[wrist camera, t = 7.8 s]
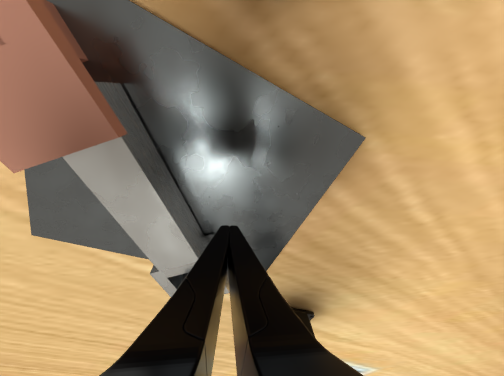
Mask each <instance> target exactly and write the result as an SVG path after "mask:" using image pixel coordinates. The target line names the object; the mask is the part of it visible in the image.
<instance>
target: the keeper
mask: <svg viewBox="0 0 504 376" xmlns="http://www.w3.org/2000/svg"><path fill="white" fill-rule="evenodd" d="M86 61H88V59H87V57H86V55H85V54H84V52H83V51H82V49H81V47H80V46H79V44H78V43H77V41H76V39H75V38H74V36H73V35H72V33H71V31H70V30H69V28H68V27H67V25H66V23H65V22H64V20H63V19H62V17H61V15H60V14H59V12H58V11H57V9H56V7H55V6H54V4H53V3H51V2H48V1H46V0H0V161H1V162H2V163H3V164H4V165H5V166H7V167H8V168H9V169H10V170H11V171H12V172H13V173H16V172H19V171H21V170H24V169H27V168H30V167H33V166H36V165H39V164H42V163H45V162H48V161H51V160H54V159H57V158H60V157H63V156H66V155H69V154H72V153H75V152H77V151H80V150H83V149H86V148H89V147H92V146H95V145H98V144H101V143H104V142H107V141H110V140H113V139H116V138H119V137H121V136H123V135H126V134H128V133H127V132H126V130H125V129H124V127H123V126H122V124H121V122H120V121H119V119H118V118H117V116H116V115H115V113H114V112H113V110H112V109H111V107H110V105H109V104H108V102H107V101H106V99H105V98H104V96H103V95H102V93H101V91H100V90H99V88H98V87H97V85H96V84H95V82H94V81H93V79H92V77H91V76H90V74H89V73H88V71H87V70H86V68H85V67H84V65H83V62H86Z"/></svg>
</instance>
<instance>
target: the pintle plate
mask: <svg viewBox="0 0 504 376" xmlns="http://www.w3.org/2000/svg"><path fill="white" fill-rule="evenodd" d="M46 1H48V2H51V3H53V4H54V6H55V7H56V9H57V11H58V12H59V14H60V15H61V17H62V19H63V20H64V22H65V23H66V25H67V27H68V28H69V30H70V31H71V33H72V35H73V36H74V38H75V39H76V41H77V43H78V44H79V46H80V47H81V49H82V51H83V52H84V54H85V55H86V57H87V59H88V61H86V62H83V65H84V67H85V68H86V70H87V71H88V73H89V74H90V76H91V77H92V79H93V81H94V82H109V83H120V84H121V86H122V87H123V89H124V91H125V93H126V95H127V97H128V98H129V100H130V102H131V104H132V106H133V107H134V109H135V111H136V113H137V115H138V117H139V118H140V120H141V122H142V124H143V126H144V127H145V129H146V131H147V133H148V135H149V136H150V138H151V140H152V142H153V144H154V146H155V147H156V149H157V151H158V153H159V155H160V156H161V158H162V160H163V162H164V164H165V165H166V167H167V169H168V171H169V173H170V175H171V176H172V178H173V180H174V182H175V184H176V185H177V187H178V189H179V191H180V193H181V195H182V196H183V198H184V200H185V202H186V204H187V205H188V207H189V209H190V211H191V213H192V214H193V216H194V218H195V220H196V222H197V224H198V225H199V227H200V229H201V231H202V233H203V234H204V236H207V235H211V234H213V235H215V233H216V232H217V230H218V229H219V227H220V226H221V225H229V226H230V225H237V226H238V227H239V229H240V230H241V232H242V233H243V235H244V237H245V238H246V240H247V242H248V243H249V245H250V246H251V248H252V250H253V251H254V253H255V254H256V256H257V258H258V259H259V261H260V262H261V264H262V266H263V267H264V269H265V271H267V269H268V268H269V267H270V265H271V264H272V263H273V261H274V260H275V259H276V257H277V256H278V255H279V253H280V252H281V251H282V249H283V248H284V247H285V245H286V244H287V243H288V241H289V240H290V239H291V237H292V236H293V235H294V233H295V232H296V231H297V229H298V228H299V227H300V225H301V224H302V223H303V221H304V220H305V219H306V217H307V216H308V215H309V213H310V212H311V211H312V209H313V208H314V207H315V205H316V204H317V202H318V201H319V200H320V198H321V197H322V196H323V194H324V193H325V192H326V190H327V189H328V188H329V186H330V185H331V184H332V182H333V181H334V180H335V178H336V177H337V176H338V174H339V173H340V172H341V170H342V169H343V168H344V166H345V165H346V164H347V162H348V161H349V160H350V158H351V157H352V156H353V154H354V153H355V152H356V150H357V149H358V148H359V146H360V145H361V144H362V142H363V141H364V140H365V137H363V136H362V135H360V134H358V133H357V132H355V131H353V130H351V129H350V128H348V127H346V126H344V125H343V124H341V123H339V122H338V121H336V120H334V119H332V118H331V117H329V116H327V115H325V114H324V113H322V112H320V111H319V110H317V109H315V108H313V107H312V106H310V105H308V104H307V103H305V102H303V101H301V100H300V99H298V98H296V97H294V96H293V95H291V94H289V93H288V92H286V91H284V90H282V89H281V88H279V87H277V86H275V85H274V84H272V83H270V82H269V81H267V80H265V79H263V78H262V77H260V76H258V75H257V74H255V73H253V72H251V71H250V70H248V69H246V68H244V67H243V66H241V65H239V64H238V63H236V62H234V61H232V60H231V59H229V58H227V57H225V56H224V55H222V54H220V53H219V52H217V51H215V50H213V49H212V48H210V47H208V46H206V45H205V44H203V43H201V42H200V41H198V40H196V39H194V38H193V37H191V36H189V35H188V34H186V33H184V32H182V31H181V30H179V29H177V28H175V27H174V26H172V25H170V24H169V23H167V22H165V21H163V20H162V19H160V18H158V17H156V16H155V15H153V14H151V13H150V12H148V11H146V10H144V9H143V8H141V7H139V6H137V5H136V4H134V3H132V2H131V1H129V0H46ZM24 170H25V179H26V188H27V197H28V206H29V216H30V225H31V234H32V235H34V236H39V237H44V238H48V239H53V240H58V241H63V242H68V243H73V244H77V245H82V246H87V247H92V248H97V249H102V250H106V251H111V252H116V253H121V254H126V255H131V256H135V257H140V258H145V259H149V258H148V257H147V256H146V255H145V254H144V253H143V251H142V250H141V249H140V248H139V247H138V246H137V244H136V243H135V242H134V241H133V240H132V238H131V237H130V236H129V235H128V234H127V233H126V231H125V230H124V229H123V228H122V227H121V226H120V224H119V223H118V222H117V221H116V220H115V218H114V217H113V216H112V215H111V214H110V213H109V211H108V210H107V209H106V208H105V207H104V206H103V204H102V203H101V202H100V201H99V200H98V198H97V197H96V196H95V195H94V194H93V193H92V191H91V190H90V189H89V188H88V187H87V186H86V184H85V183H84V182H83V181H82V180H81V178H80V177H79V176H78V175H77V174H76V173H75V171H74V170H73V169H72V168H71V167H70V166H69V164H68V163H67V162H66V161H65V160H64V158H63V157H60V158H57V159H54V160H51V161H48V162H45V163H42V164H39V165H36V166H33V167H30V168H27V169H24ZM188 273H189V272H188ZM188 273H184V274H183V277H182V281H181V283H182V282H183V280H184V279H185V278H186V276H187V274H188Z"/></svg>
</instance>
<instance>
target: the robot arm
mask: <svg viewBox="0 0 504 376" xmlns="http://www.w3.org/2000/svg"><path fill="white" fill-rule="evenodd" d="M227 269H228V279H229V290H230V301H231V312H232V323H233V334H234V345H235V356H236V367H237V376H363V375H362V374H361V373H359V372H358V371H356V370H355V369H353V368H352V367H350V366H349V365H348V364H346V363H345V362H343V361H342V360H340V359H339V358H337V357H336V356H335V355H333V354H332V353H330V352H329V351H328V350H327V349H325V348H324V347H323V346H322V345H321V344H320V343H319V342H318V341H317V340H316V339H315V335H314V332H313V329H312V326H311V323H310V320H311V319H312V318H313V317H314V313H313V312H310V311H304V310H298V309H292V308H291V307H290V306H289V305H288V303H287V302H286V301H285V299H284V298H283V297H282V295H281V294H280V292H279V291H278V289H277V288H276V286H275V285H274V283H273V282H272V280H271V278H270V277H269V276H268V274H267V272H266V271H265V269H264V267H263V266H262V264H261V262H260V261H259V259H258V258H257V256H256V254H255V253H254V251H253V250H252V248H251V246H250V245H249V243H248V242H247V240H246V238H245V237H244V235H243V233H242V232H241V230H240V229H239V227H238V226H237V225H230V226H229V225H221V226H220V227H219V229H218V230H217V232H216V233H215V235H214V236H213V238H212V239H211V241H210V242H209V244H208V245H207V247H206V248H205V249H204V251H203V252H202V254H201V255H200V257H199V258H198V260H197V261H196V263H195V264H194V266H193V267H192V268H191V270H190V271H189V273H188V274H187V276H186V278H185V279H184V280H183V282H182V283H181V284H180V286H179V287H178V289H177V290H176V291H175V293H174V294H173V296H172V297H171V298H170V300H169V301H168V302H167V303H166V304H165V306H164V307H163V308H162V309H161V311H160V312H159V313H158V314H157V315H156V317H155V318H154V319H153V320H152V321H151V323H150V324H149V325H148V326H147V327H146V328H145V330H144V331H143V332H142V333H141V334H140V336H139V337H138V338H137V339H136V340H135V341H134V343H133V344H132V345H131V346H130V347H129V348H128V350H127V351H126V352H125V353H124V354H123V355H122V356H121V357H120V358H119V359H118V360H117V361H116V362H115V363H114V364H113V365H112V366H111V367H109V368H108V369H107V370H106V371H105V372H103V373H102V374H101V375H99V376H211V373H212V367H213V360H214V354H215V348H216V341H217V335H218V328H219V322H220V316H221V309H222V303H223V296H224V290H225V283H226V277H227Z"/></svg>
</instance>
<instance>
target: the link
mask: <svg viewBox="0 0 504 376" xmlns="http://www.w3.org/2000/svg"><path fill="white" fill-rule="evenodd" d="M95 84H96V85H97V87H98V88H99V90H100V91H101V93H102V95H103V96H104V98H105V99H106V101H107V102H108V104H109V105H110V107H111V109H112V110H113V112H114V113H115V115H116V116H117V118H118V119H119V121H120V122H121V124H122V126H123V127H124V129H125V130H126V132H127V133H128V134H126V135H123V136H121V137H119V138H116V139H113V140H110V141H107V142H104V143H101V144H98V145H95V146H92V147H89V148H86V149H83V150H80V151H77V152H75V153H72V154H69V155H66V156H63V158H64V160H65V161H66V162H67V163H68V164H69V166H70V167H71V168H72V169H73V170H74V171H75V173H76V174H77V175H78V176H79V177H80V178H81V180H82V181H83V182H84V183H85V184H86V186H87V187H88V188H89V189H90V190H91V191H92V193H93V194H94V195H95V196H96V197H97V198H98V200H99V201H100V202H101V203H102V204H103V206H104V207H105V208H106V209H107V210H108V211H109V213H110V214H111V215H112V216H113V217H114V218H115V220H116V221H117V222H118V223H119V224H120V226H121V227H122V228H123V229H124V230H125V231H126V233H127V234H128V235H129V236H130V237H131V238H132V240H133V241H134V242H135V243H136V244H137V246H138V247H139V248H140V249H141V250H142V251H143V253H144V254H145V255H146V256H147V257H148V258H149V260H150V261H151V262H152V263H153V264H154V266H153V268H152V270H151V272H150V275H151V276H152V277H153V278H154V279H155V280H156V281H157V282H158V283H159V285H160V286H161V287H162V288H163V289H164V290H165V291H166V292H167V293H168V294H169V296H170V297H172V296H173V294H174V293H175V291H176V290H177V289H178V287H179V286H180V284H181V281H182V277H183V274H184V273H188V272H189V271H190V270H191V268H192V267H193V266H194V264H195V263H196V261H197V260H198V258H199V257H200V255H201V254H202V252H203V251H204V249H205V248H206V247H207V245H208V244H209V242H210V241H211V239H212V238H213V236H214V235H213V234H211V235H207V236H204V234H203V233H202V231H201V229H200V227H199V225H198V224H197V222H196V220H195V218H194V216H193V214H192V213H191V211H190V209H189V207H188V205H187V204H186V202H185V200H184V198H183V196H182V195H181V193H180V191H179V189H178V187H177V185H176V184H175V182H174V180H173V178H172V176H171V175H170V173H169V171H168V169H167V167H166V165H165V164H164V162H163V160H162V158H161V156H160V155H159V153H158V151H157V149H156V147H155V146H154V144H153V142H152V140H151V138H150V136H149V135H148V133H147V131H146V129H145V127H144V126H143V124H142V122H141V120H140V118H139V117H138V115H137V113H136V111H135V109H134V107H133V106H132V104H131V102H130V100H129V98H128V97H127V95H126V93H125V91H124V89H123V87H122V86H121V84H120V83H109V82H95ZM227 293H230V290H229V279H228V269H227V277H226V283H225V290H224V294H227Z"/></svg>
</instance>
